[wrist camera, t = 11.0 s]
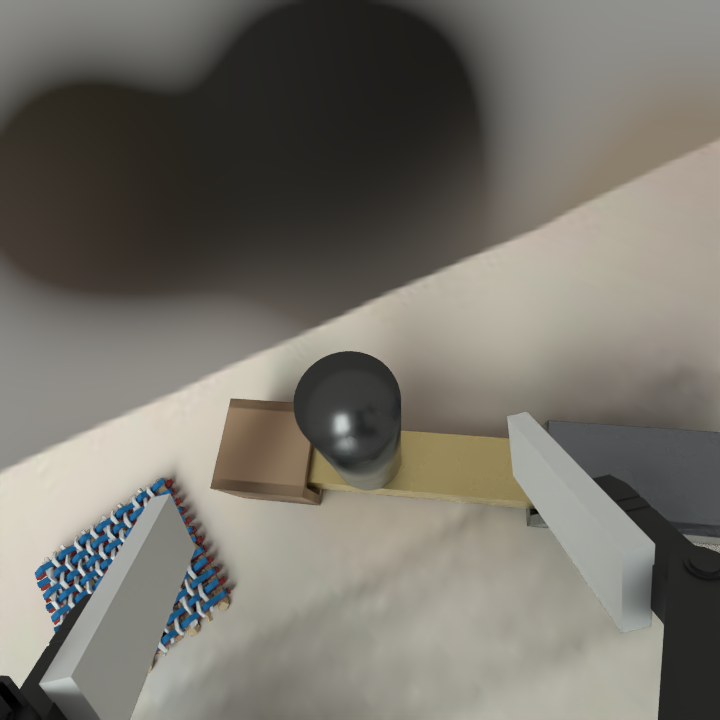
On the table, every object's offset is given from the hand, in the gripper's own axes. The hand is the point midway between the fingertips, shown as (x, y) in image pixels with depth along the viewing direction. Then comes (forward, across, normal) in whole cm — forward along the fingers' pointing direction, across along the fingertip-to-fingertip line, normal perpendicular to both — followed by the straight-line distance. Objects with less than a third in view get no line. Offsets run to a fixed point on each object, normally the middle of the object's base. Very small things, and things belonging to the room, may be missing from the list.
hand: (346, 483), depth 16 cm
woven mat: (+10, -17, -11) cm, 22 cm away
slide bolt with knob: (+10, +4, -8) cm, 14 cm away
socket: (+13, -5, -7) cm, 16 cm away
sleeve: (+8, +16, -12) cm, 22 cm away
